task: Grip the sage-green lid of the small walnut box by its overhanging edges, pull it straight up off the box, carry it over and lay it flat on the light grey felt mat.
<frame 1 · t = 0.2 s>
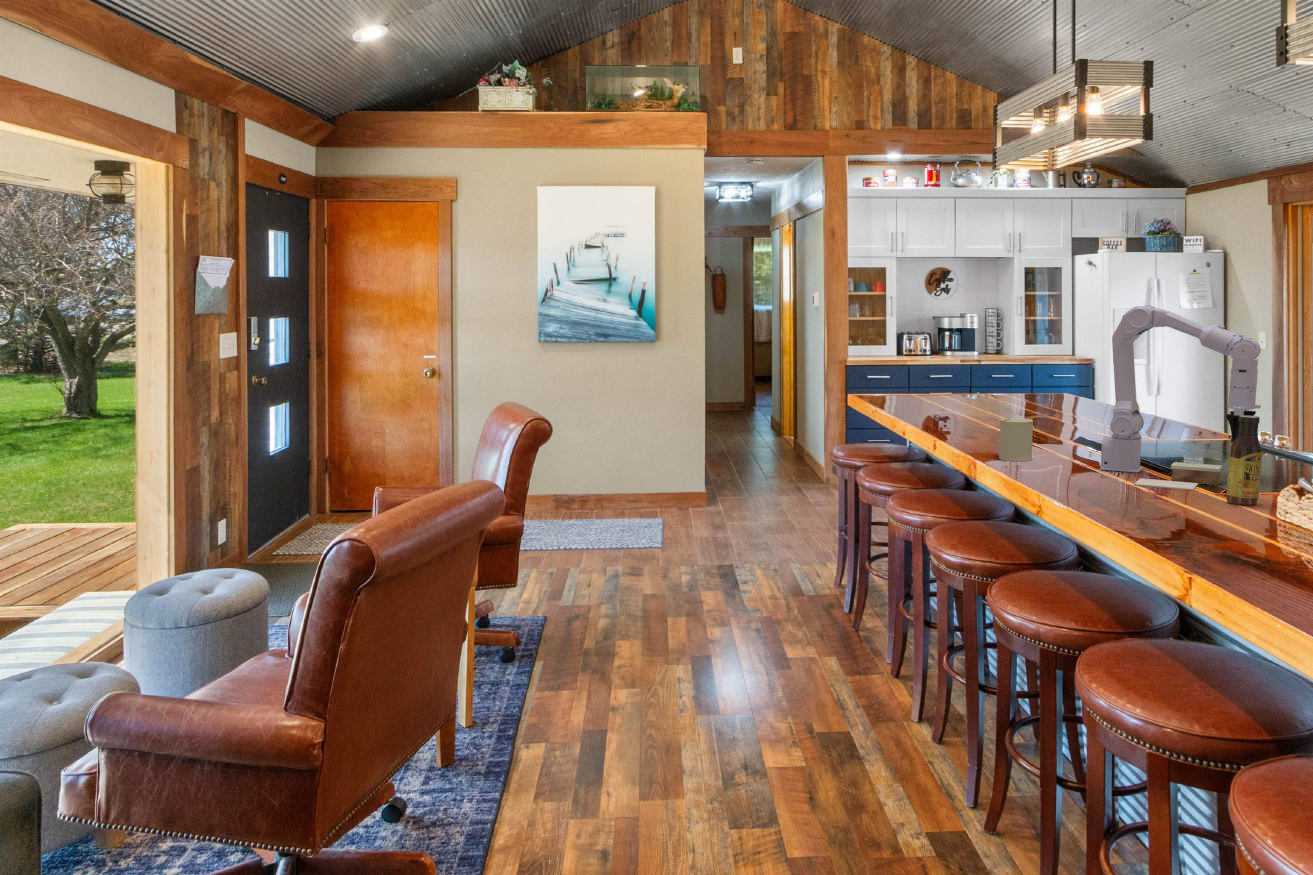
hand: (1239, 441, 241), 10 cm above the countertop, tool pointing down, fingers open, 7 cm apart
can: (1015, 459, 279), on the countertop
lid: (1196, 468, 240), point 3 cm above the countertop, touching walnut box
felt mat: (1165, 485, 237), on the countertop
sauce bottle: (1242, 504, 216), on the countertop
walnut box: (1195, 482, 240), on the countertop
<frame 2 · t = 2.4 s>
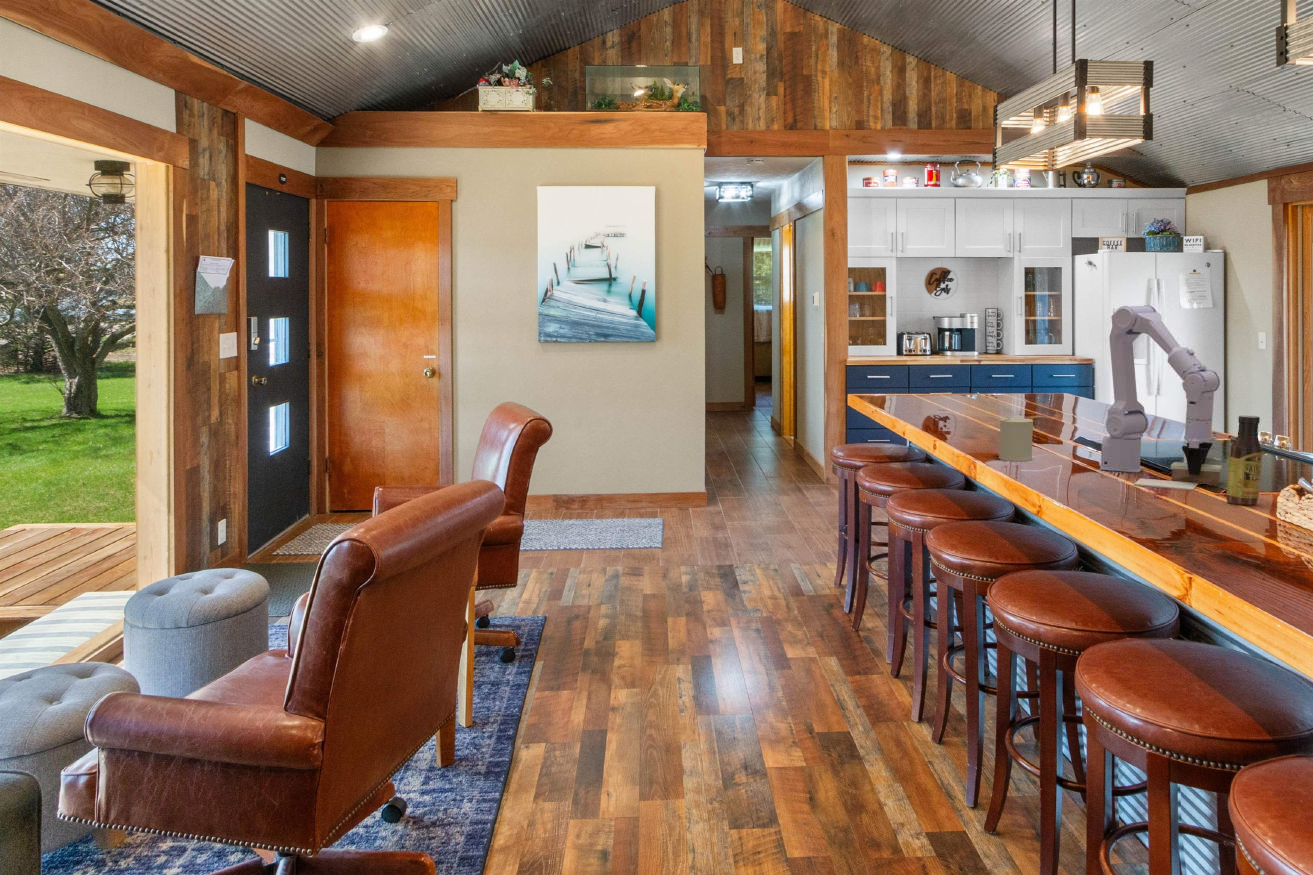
hand: (1195, 472, 240), 2 cm above the countertop, tool pointing down, fingers closed on lid, 6 cm apart
lid: (1196, 468, 240), point 3 cm above the countertop, touching gripper, walnut box
everything else where it was.
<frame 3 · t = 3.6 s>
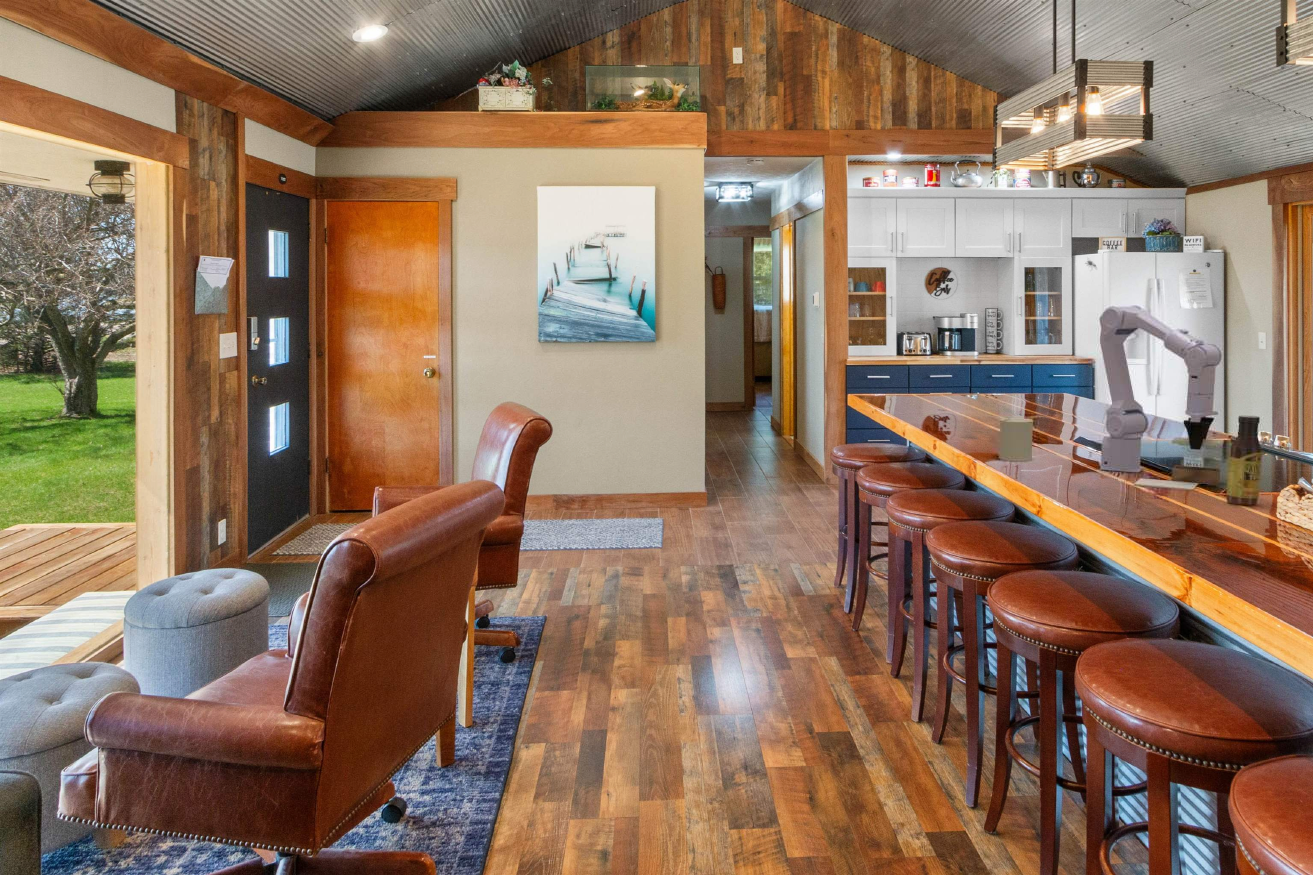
hand: (1197, 447, 239), 9 cm above the countertop, tool pointing down, fingers closed on lid, 6 cm apart
lid: (1197, 443, 239), point 10 cm above the countertop, touching gripper
everything else where it was.
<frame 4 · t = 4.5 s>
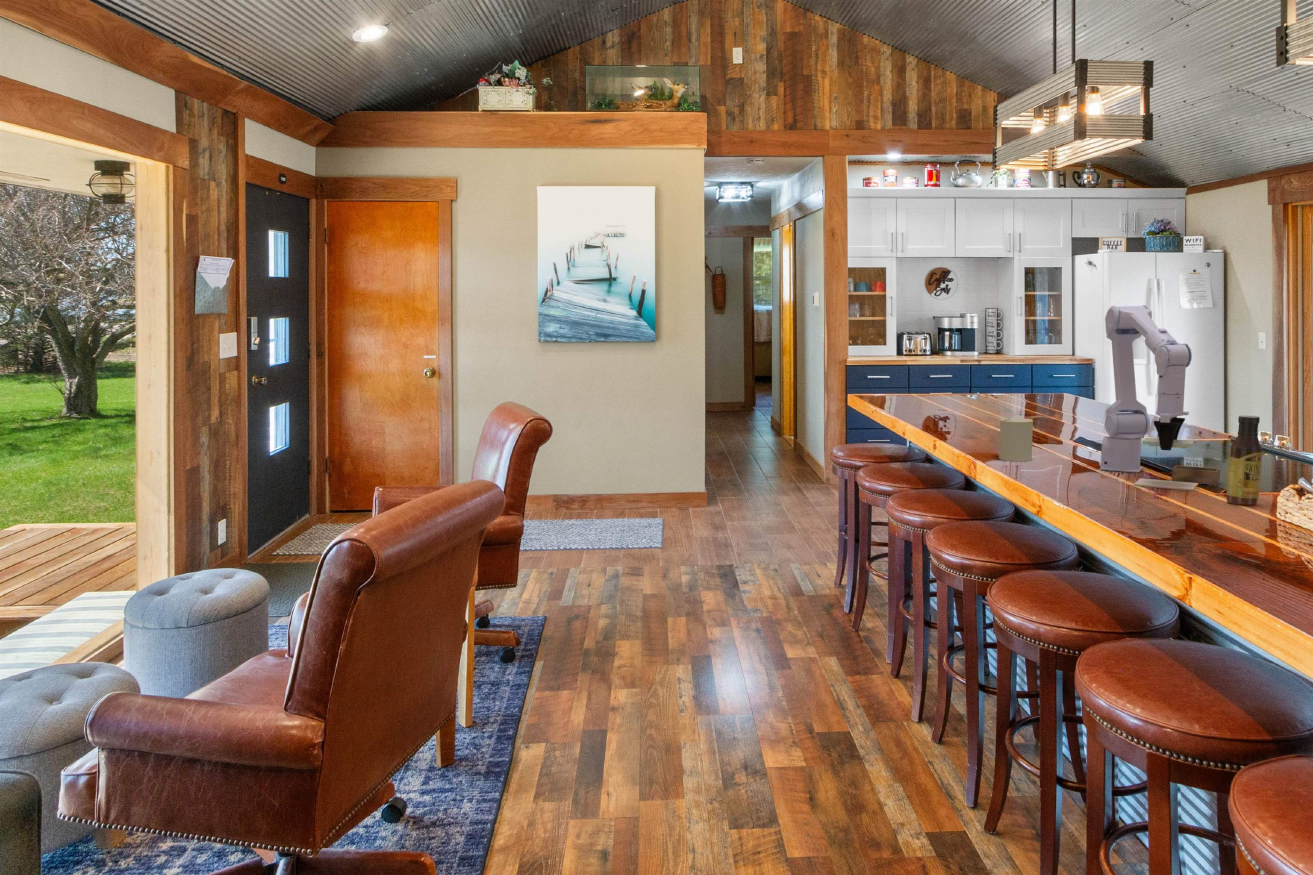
hand: (1167, 448, 236), 9 cm above the countertop, tool pointing down, fingers closed on lid, 6 cm apart
lid: (1168, 444, 236), point 10 cm above the countertop, touching gripper
everything else where it was.
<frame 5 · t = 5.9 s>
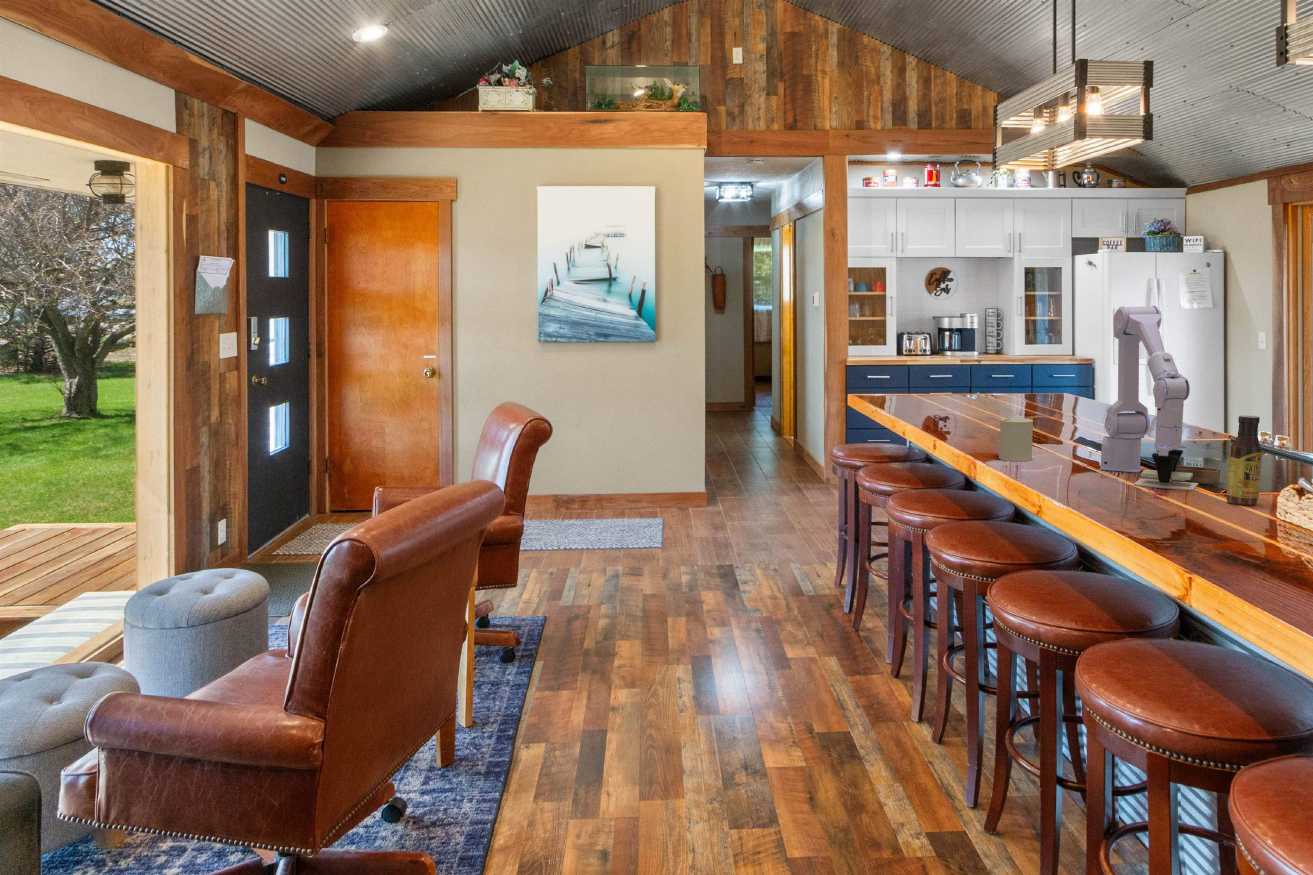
hand: (1166, 480, 237), 1 cm above the countertop, tool pointing down, fingers closed on lid, 6 cm apart
lid: (1166, 476, 237), point 2 cm above the countertop, touching gripper
everything else where it was.
when the fingers open (1 cm above the countertop, at t = 7.0 s): lid drops 1 cm, resting on felt mat.
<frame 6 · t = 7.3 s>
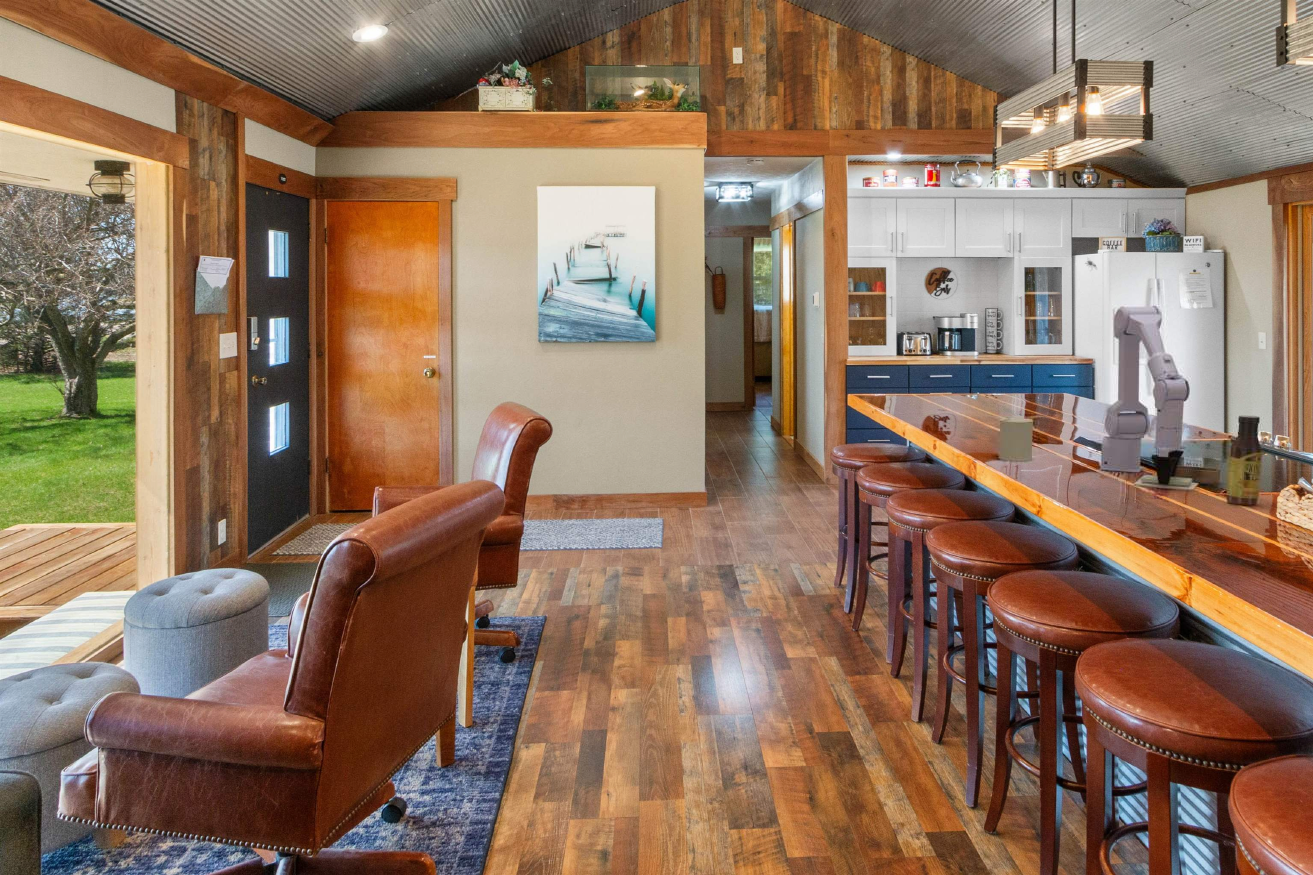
hand: (1166, 481, 237), 1 cm above the countertop, tool pointing down, fingers open, 7 cm apart
lid: (1166, 481, 237), point 1 cm above the countertop, touching felt mat
everything else where it was.
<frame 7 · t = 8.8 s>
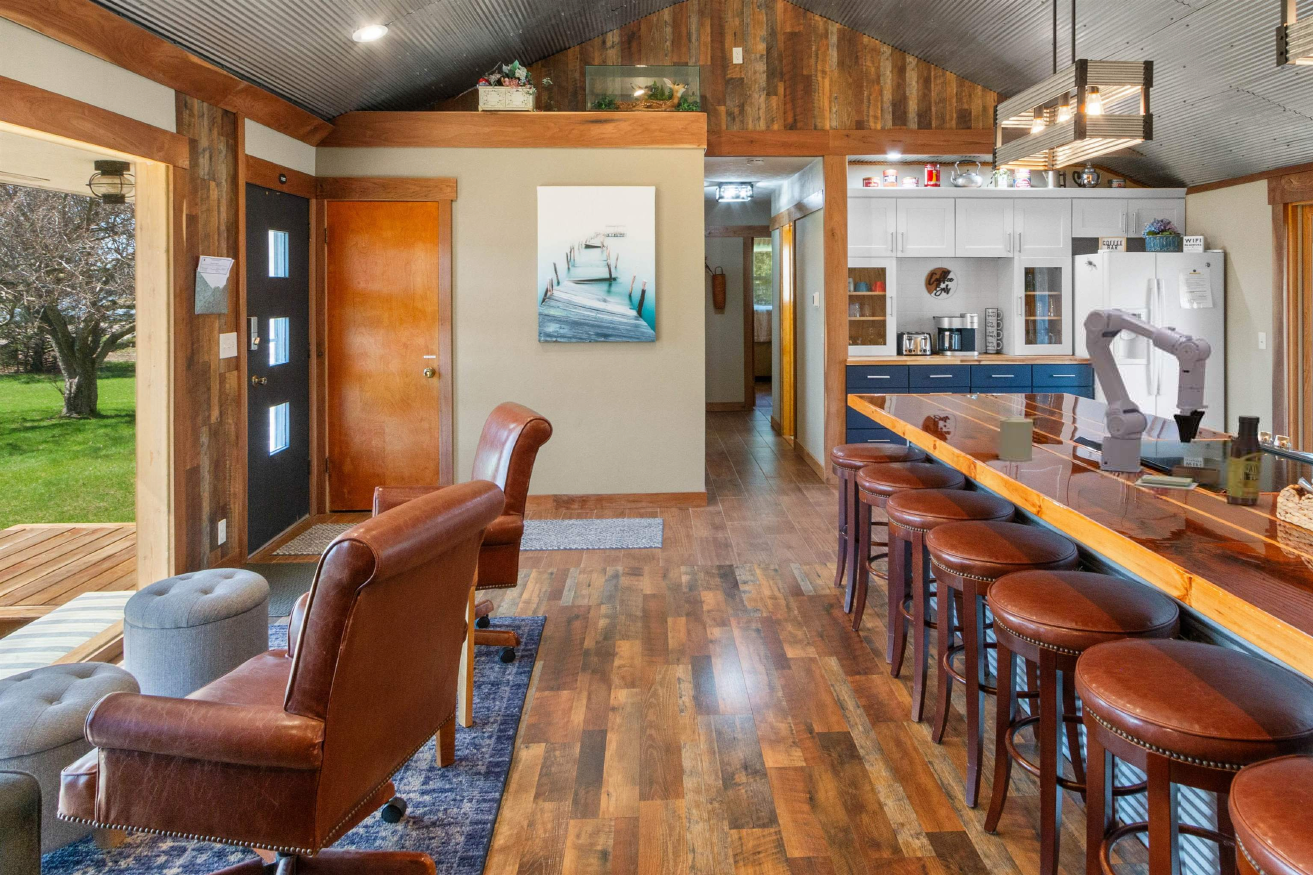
hand: (1187, 440, 243), 10 cm above the countertop, tool pointing down, fingers open, 7 cm apart
nothing on the countertop moved.
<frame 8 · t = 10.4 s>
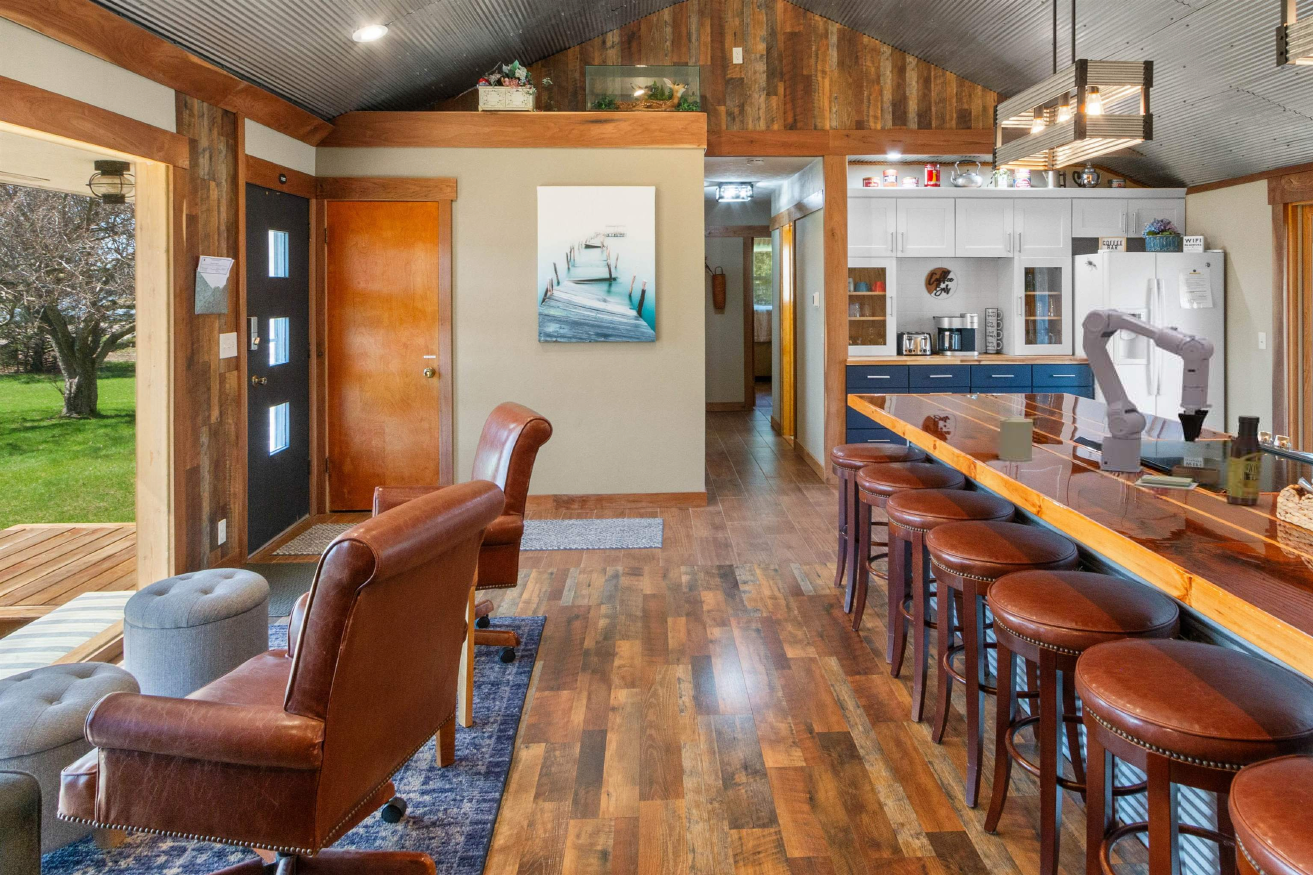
hand: (1191, 439, 245), 10 cm above the countertop, tool pointing down, fingers open, 7 cm apart
nothing on the countertop moved.
at the end: lid inside the target area on the felt mat (0.1 cm from its centre), point 0.9 cm above the felt mat's base; lid tilted 0°; lid touching felt mat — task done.
